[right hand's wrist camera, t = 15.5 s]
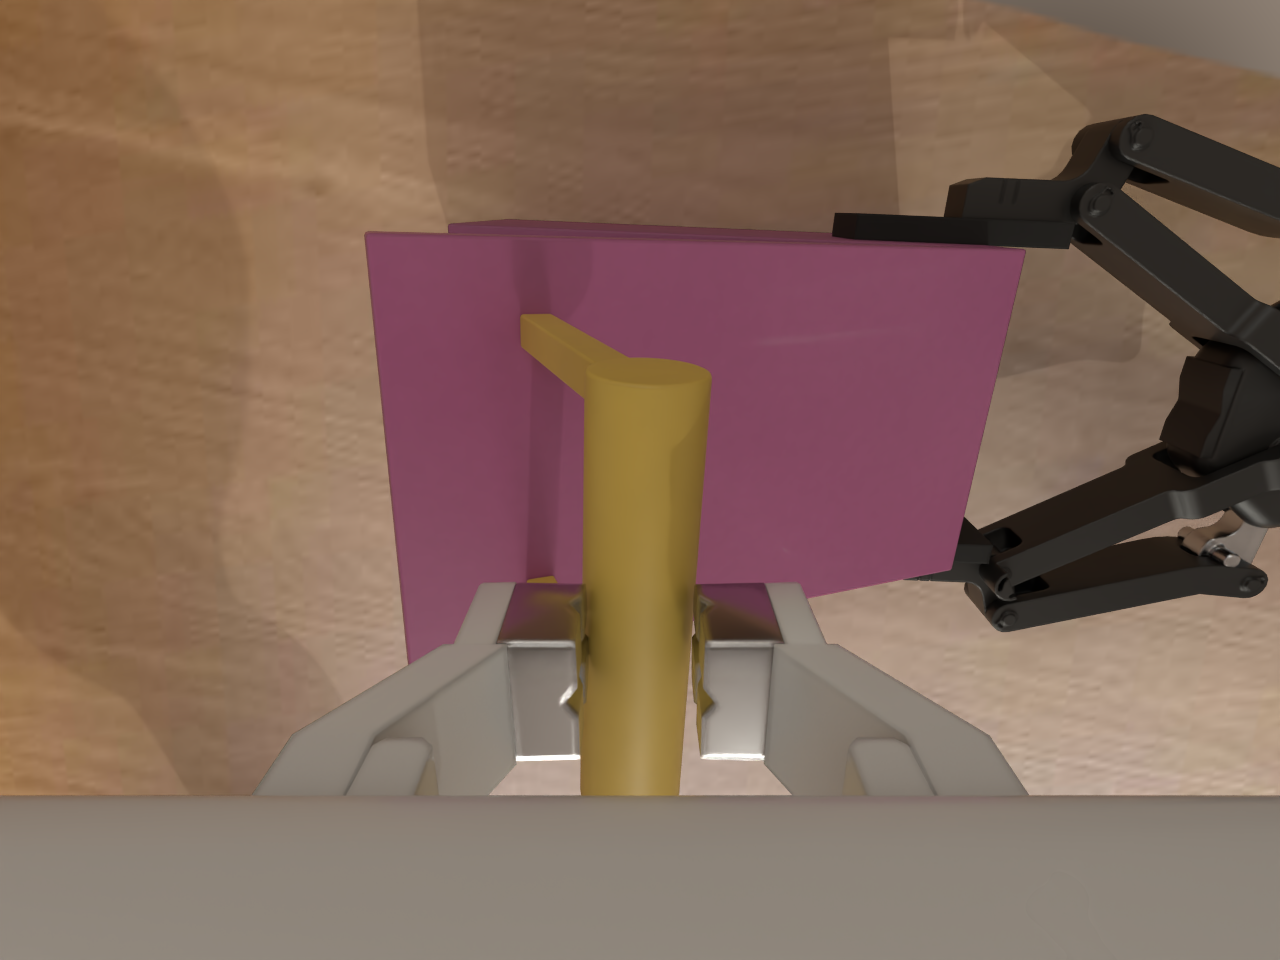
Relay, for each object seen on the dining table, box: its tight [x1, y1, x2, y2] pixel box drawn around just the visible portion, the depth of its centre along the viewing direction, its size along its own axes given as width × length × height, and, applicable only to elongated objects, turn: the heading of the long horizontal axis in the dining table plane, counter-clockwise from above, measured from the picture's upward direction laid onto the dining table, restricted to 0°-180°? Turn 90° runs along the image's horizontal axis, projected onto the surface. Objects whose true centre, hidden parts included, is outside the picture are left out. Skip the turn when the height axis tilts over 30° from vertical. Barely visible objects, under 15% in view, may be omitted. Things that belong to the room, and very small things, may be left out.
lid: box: [364, 231, 1026, 796], centre depth 15 cm, size 17×10×8 cm, turn 87°
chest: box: [448, 219, 997, 247], centre depth 26 cm, size 16×10×9 cm, turn 88°
